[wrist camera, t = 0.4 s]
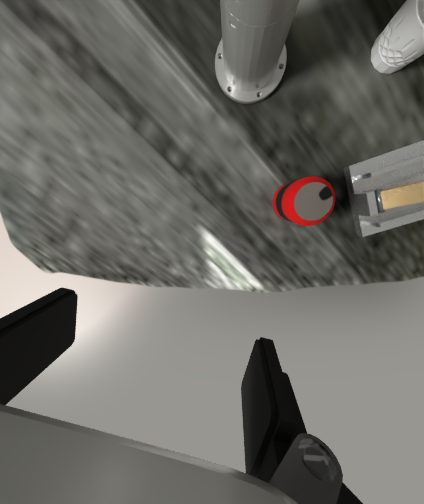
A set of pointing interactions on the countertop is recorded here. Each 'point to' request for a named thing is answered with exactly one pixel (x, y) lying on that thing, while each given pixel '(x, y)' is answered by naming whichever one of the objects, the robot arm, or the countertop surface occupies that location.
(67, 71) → the countertop surface
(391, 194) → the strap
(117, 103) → the countertop surface
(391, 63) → the white cup
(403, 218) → the heatsink
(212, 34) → the countertop surface
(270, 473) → the robot arm
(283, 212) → the soda can
